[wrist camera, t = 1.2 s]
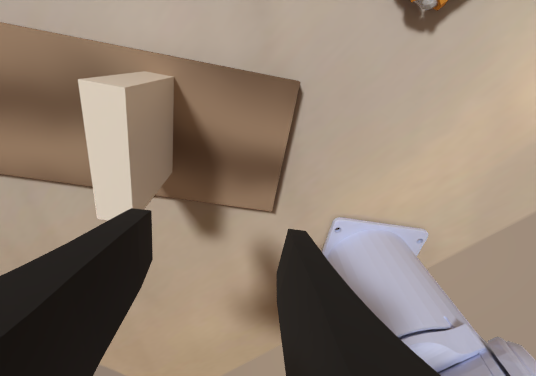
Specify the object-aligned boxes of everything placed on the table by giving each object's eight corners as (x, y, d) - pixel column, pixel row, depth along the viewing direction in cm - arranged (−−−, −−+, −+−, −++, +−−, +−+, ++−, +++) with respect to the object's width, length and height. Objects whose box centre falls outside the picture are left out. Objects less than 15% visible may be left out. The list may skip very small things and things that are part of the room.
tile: (172, 171, 17) (133, 223, 12) (147, 168, 17) (96, 218, 12) (173, 76, 15) (124, 87, 9) (143, 71, 14) (76, 78, 9)
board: (271, 206, 20) (271, 211, 19) (-17, 165, 17) (-29, 169, 17) (298, 81, 16) (300, 82, 15) (-70, 8, 14) (-89, 5, 13)
